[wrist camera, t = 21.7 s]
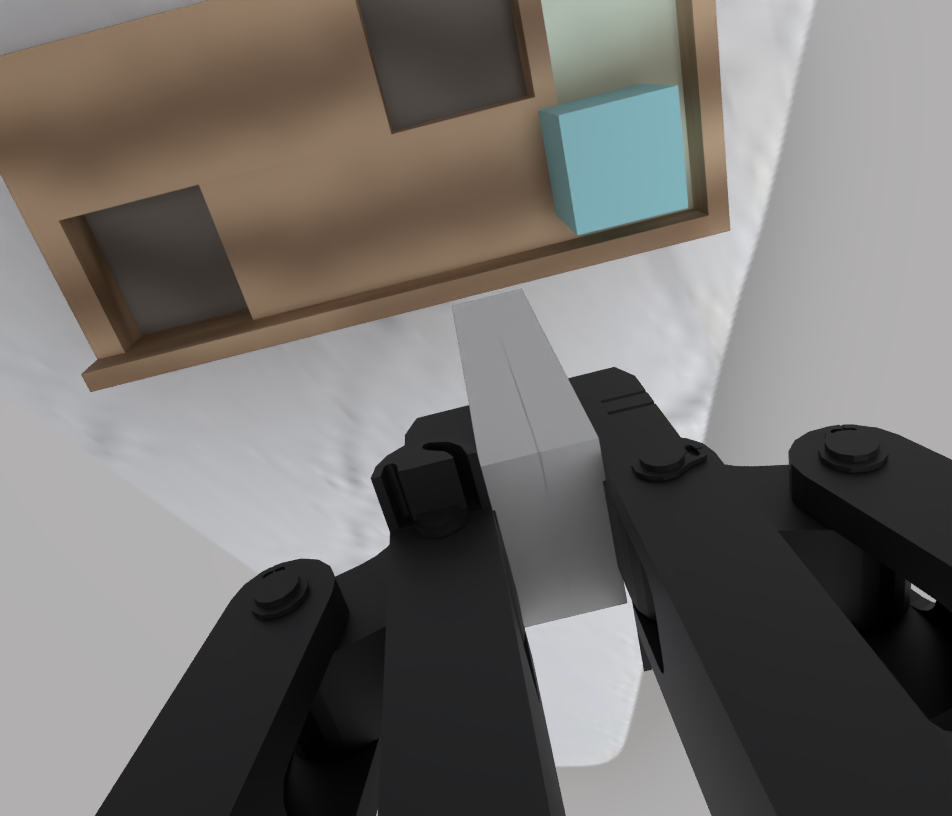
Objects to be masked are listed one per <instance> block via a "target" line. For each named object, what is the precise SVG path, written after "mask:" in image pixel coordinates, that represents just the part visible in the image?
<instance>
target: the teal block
mask: <svg viewBox="0 0 952 816" xmlns="http://www.w3.org/2000/svg"><path fill="white" fill-rule="evenodd" d="M538 112H539V118H540V124H541V130H542V136H543V141H544V147H545V153H546V159H547V165H548V170H549V176H550V182H551V188H552V194H553V200H554V205H555V211H556V215H557V216H558V217H559V218H560V219H561V220H562V221H563V222H564V223H565V224H566V225H567V226H568V227H569V228H570V229H571V230H572V231H574V232H575V233H576V234H577V235H581V234H585V233H589V232H593V231H597V230H601V229H605V228H609V227H613V226H617V225H621V224H625V223H629V222H633V221H637V220H641V219H645V218H649V217H653V216H657V215H661V214H665V213H669V212H673V211H677V210H681V209H685V208H688V197H687V186H686V174H685V162H684V151H683V139H682V127H681V116H680V104H679V92H678V85H656V84H639V85H635V86H631V87H627V88H623V89H619V90H615V91H611V92H608V93H604V94H600V95H596V96H592V97H588V98H584V99H580V100H576V101H572V102H568V103H564V104H560V105H556V106H552V107H548V108H544V109H541V110H538Z"/></svg>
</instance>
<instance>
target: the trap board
mask: <svg viewBox="0 0 952 816" xmlns="http://www.w3.org/2000/svg"><path fill="white" fill-rule="evenodd" d="M639 84H656V85H678V92H679V104H680V116H681V127H682V139H683V151H684V162H685V174H686V186H687V197H688V208H685V209H681V210H677V211H673V212H669V213H665V214H661V215H657V216H653V217H649V218H645V219H641V220H637V221H633V222H629V223H625V224H621V225H617V226H613V227H609V228H605V229H601V230H597V231H593V232H589V233H585V234H581V235H577V234H576V233H575V232H574V231H572V230H571V229H570V228H569V227H568V226H567V225H566V224H565V223H564V222H563V221H562V220H561V219H560V218H559V217H558V216H557V215H556V211H555V205H554V200H553V194H552V188H551V182H550V176H549V170H548V165H547V159H546V153H545V147H544V141H543V136H542V130H541V124H540V118H539V112H538V110H541V109H544V108H548V107H552V106H556V105H560V104H564V103H568V102H572V101H576V100H580V99H584V98H588V97H592V96H596V95H600V94H604V93H608V92H611V91H615V90H619V89H623V88H627V87H631V86H635V85H639ZM0 174H1V176H2V178H3V180H4V182H5V184H6V186H7V188H8V190H9V192H10V193H11V195H12V197H13V199H14V201H15V203H16V205H17V207H18V209H19V211H20V213H21V214H22V216H23V218H24V220H25V222H26V224H27V226H28V228H29V230H30V232H31V234H32V235H33V237H34V239H35V241H36V243H37V245H38V247H39V249H40V251H41V253H42V255H43V256H44V258H45V260H46V262H47V264H48V266H49V268H50V270H51V272H52V274H53V276H54V277H55V279H56V281H57V283H58V285H59V287H60V289H61V291H62V293H63V295H64V297H65V298H66V300H67V302H68V304H69V306H70V308H71V310H72V312H73V314H74V316H75V318H76V319H77V321H78V323H79V325H80V327H81V329H82V331H83V333H84V335H85V337H86V339H87V340H88V342H89V344H90V346H91V348H92V350H93V352H94V354H95V356H96V358H97V361H95V362H94V363H93V364H92V365H91V366H90V367H89V368H88V369H87V370H85V371H84V372H83V373H82V374H81V375H82V377H83V379H84V381H85V383H86V385H87V386H88V388H89V390H90V392H93V391H97V390H101V389H105V388H109V387H113V386H117V385H121V384H124V383H128V382H132V381H136V380H140V379H144V378H148V377H152V376H156V375H160V374H164V373H168V372H172V371H176V370H180V369H184V368H188V367H192V366H196V365H200V364H204V363H208V362H212V361H216V360H220V359H223V358H227V357H231V356H235V355H239V354H243V353H247V352H251V351H255V350H259V349H263V348H267V347H271V346H275V345H279V344H283V343H287V342H291V341H295V340H299V339H303V338H307V337H311V336H315V335H319V334H322V333H326V332H330V331H334V330H338V329H342V328H346V327H350V326H354V325H358V324H362V323H366V322H370V321H374V320H378V319H382V318H386V317H390V316H394V315H398V314H402V313H406V312H410V311H414V310H418V309H421V308H425V307H429V306H433V305H437V304H441V303H445V302H449V301H453V300H457V299H461V298H465V297H469V296H473V295H477V294H481V293H485V292H489V291H493V290H497V289H501V288H505V287H509V286H513V285H517V284H520V283H524V282H528V281H532V280H536V279H540V278H544V277H548V276H552V275H556V274H560V273H564V272H568V271H572V270H576V269H580V268H584V267H588V266H592V265H596V264H600V263H604V262H608V261H612V260H616V259H620V258H623V257H627V256H631V255H635V254H639V253H643V252H647V251H651V250H655V249H659V248H663V247H667V246H671V245H675V244H679V243H683V242H687V241H691V240H695V239H699V238H703V237H707V236H711V235H715V234H719V233H722V232H726V231H730V220H729V204H728V189H727V173H726V158H725V142H724V127H723V111H722V96H721V80H720V65H719V49H718V34H717V18H716V3H715V0H207V1H204V2H200V3H196V4H192V5H189V6H185V7H181V8H177V9H174V10H170V11H166V12H162V13H159V14H155V15H151V16H147V17H144V18H140V19H136V20H132V21H129V22H125V23H121V24H117V25H114V26H110V27H106V28H102V29H99V30H95V31H91V32H87V33H84V34H80V35H76V36H72V37H69V38H65V39H61V40H57V41H54V42H50V43H46V44H42V45H39V46H35V47H31V48H27V49H24V50H20V51H16V52H12V53H9V54H5V55H1V56H0Z"/></svg>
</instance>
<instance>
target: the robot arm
mask: <svg viewBox="0 0 952 816" xmlns="http://www.w3.org/2000/svg"><path fill="white" fill-rule="evenodd" d="M452 310H453V315H454V321H455V327H456V333H457V338H458V344H459V350H460V356H461V361H462V367H463V373H464V379H465V384H466V390H467V396H468V401H469V405H468V406H464V407H460V408H456V409H452V410H448V411H444V412H440V413H436V414H432V415H428V416H424V417H420V418H417V419H416V420H415V422H414V423H413V424H412V426H411V427H410V429H409V430H408V432H407V433H406V434H405V446H403V447H401V448H399V449H398V450H396V451H394V452H392V453H391V454H389V455H387V456H386V457H385V458H384V459H383V460H382V461H381V462H380V463H379V464H378V465H377V466H376V467H375V470H374V472H373V474H372V477H371V480H372V483H373V486H374V489H375V492H376V494H377V497H378V500H379V503H380V506H381V508H382V511H383V514H384V517H385V520H386V522H387V525H388V528H389V531H390V545H389V546H388V547H387V548H386V549H384V550H383V551H382V552H380V553H379V554H378V555H377V556H375V557H374V558H372V559H370V560H368V561H366V562H365V563H363V564H361V565H359V566H357V567H355V568H353V569H351V570H349V571H346V572H344V573H342V574H340V575H338V576H336V577H335V576H334V574H333V571H332V569H331V567H330V566H329V565H327V564H325V563H323V562H322V561H320V560H316V559H297V560H293V561H288V562H283V563H280V564H278V565H275V566H274V567H272V568H271V567H270V568H269V569H267V570H265V571H263V572H261V573H260V574H258V575H257V576H256V577H254V578H253V579H252V580H250V581H249V582H247V583H246V584H245V585H244V586H243V587H242V588H241V589H240V590H239V591H238V593H237V594H236V595H235V596H234V597H233V599H232V600H231V601H230V603H229V604H228V606H227V607H226V609H225V611H224V612H223V614H222V615H221V617H220V618H219V620H218V622H217V623H216V625H215V627H214V628H213V630H212V631H211V633H210V634H209V636H208V638H207V639H206V641H205V642H204V644H203V645H202V647H201V649H200V650H199V652H198V653H197V655H196V657H195V658H194V660H193V661H192V663H191V664H190V666H189V668H188V669H187V671H186V673H185V674H184V675H183V677H182V679H181V680H180V682H179V684H178V685H177V687H176V689H175V690H174V691H173V693H172V694H171V696H170V698H169V699H168V701H167V703H166V704H165V706H164V707H163V709H162V710H161V712H160V713H159V715H158V717H157V718H156V720H155V721H154V723H153V725H152V726H151V728H150V729H149V731H148V733H147V734H146V736H145V737H144V739H143V740H142V742H141V744H140V745H139V747H138V748H137V750H136V752H135V753H134V755H133V756H132V758H131V759H130V761H129V763H128V764H127V766H126V767H125V769H124V770H123V772H122V774H121V775H120V777H119V778H118V780H117V782H116V783H115V785H114V786H113V788H112V790H111V791H110V793H109V794H108V796H107V797H106V799H105V801H104V802H103V804H102V805H101V807H100V808H99V810H98V812H97V813H96V815H95V816H376V814H377V810H378V816H566V815H565V810H564V805H563V801H562V796H561V792H560V787H559V782H558V777H557V772H556V768H555V763H554V758H553V753H552V749H551V744H550V739H549V734H548V730H547V725H546V720H545V715H544V711H543V706H542V701H541V696H540V692H539V687H538V682H537V677H536V673H535V668H534V663H533V659H532V654H531V651H530V647H529V643H528V639H527V636H526V632H525V627H529V626H533V625H537V624H541V623H546V622H550V621H554V620H558V619H562V618H566V617H571V616H575V615H579V614H583V613H587V612H592V611H596V610H600V609H604V608H608V607H612V606H617V605H621V604H625V603H627V598H626V592H625V587H624V583H625V585H626V588H627V590H628V592H629V595H630V597H631V599H632V603H633V609H634V615H635V621H636V627H637V632H638V638H639V644H640V650H641V656H642V662H643V668H644V671H647V670H652V669H653V671H654V674H655V676H656V679H657V681H658V684H659V686H660V689H661V691H662V693H663V696H664V699H665V701H666V703H667V706H668V708H669V711H670V713H671V716H672V718H673V721H674V723H675V726H676V728H677V731H678V733H679V736H680V738H681V741H682V743H683V745H684V748H685V751H686V753H687V756H688V758H689V760H690V763H691V766H692V768H693V770H694V773H695V776H696V778H697V780H698V783H699V785H700V788H701V790H702V793H703V795H704V798H705V800H706V803H707V805H708V808H709V810H710V813H711V815H712V816H952V460H951V459H949V458H947V457H945V456H943V455H940V454H938V453H936V452H934V451H932V450H930V449H928V448H926V447H923V446H921V445H919V444H917V443H915V442H913V441H911V440H908V439H906V438H904V437H902V436H900V435H898V434H895V433H892V432H889V431H885V430H883V429H879V428H876V427H867V426H859V425H841V426H840V425H836V426H829V427H825V428H821V429H817V430H814V431H810V432H808V433H806V434H804V435H803V436H801V437H800V438H798V439H796V440H795V441H794V443H793V444H792V446H791V448H790V450H789V465H775V466H732V465H725V464H724V463H723V462H722V461H721V460H720V458H719V457H718V456H717V454H716V453H715V452H714V451H712V450H711V449H710V448H708V447H707V446H706V445H704V444H703V443H700V442H697V441H694V440H690V439H687V438H681V437H680V436H679V434H678V433H677V432H676V430H675V429H674V428H673V426H672V425H671V424H670V422H669V421H668V420H667V418H666V417H665V416H664V414H663V413H662V412H661V410H660V409H659V408H658V406H657V405H656V404H654V401H653V400H652V398H651V397H650V396H649V394H648V393H647V392H645V389H644V387H643V386H642V385H641V383H640V382H639V381H638V379H637V378H636V377H635V376H634V375H632V374H629V373H627V372H625V371H622V370H620V369H618V368H616V367H612V368H608V369H604V370H600V371H596V372H592V373H588V374H584V375H580V376H576V377H572V378H567V376H566V374H565V372H564V370H563V368H562V366H561V364H560V362H559V360H558V358H557V356H556V354H555V353H554V351H553V349H552V347H551V345H550V343H549V341H548V339H547V337H546V335H545V333H544V331H543V329H542V327H541V325H540V323H539V322H538V320H537V318H536V316H535V314H534V312H533V310H532V308H531V306H530V304H529V302H528V300H527V298H526V296H525V294H524V292H523V291H522V289H518V290H514V291H510V292H506V293H502V294H499V295H495V296H491V297H487V298H483V299H479V300H475V301H471V302H467V303H463V304H459V305H455V306H452ZM623 580H624V581H623ZM911 583H912V584H913V585H915V586H916V587H918V588H919V589H921V590H922V591H924V592H925V593H927V594H928V595H930V596H931V597H932V598H934V599H935V600H936V603H934V602H931V601H929V600H927V599H925V598H923V597H922V596H920V595H919V594H917V593H916V592H915V591H913V590H912V589H911Z"/></svg>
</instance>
